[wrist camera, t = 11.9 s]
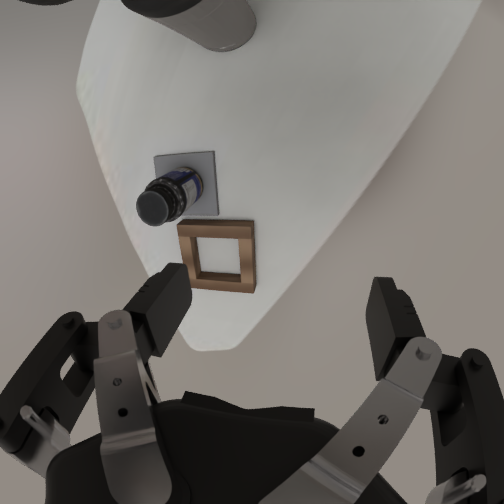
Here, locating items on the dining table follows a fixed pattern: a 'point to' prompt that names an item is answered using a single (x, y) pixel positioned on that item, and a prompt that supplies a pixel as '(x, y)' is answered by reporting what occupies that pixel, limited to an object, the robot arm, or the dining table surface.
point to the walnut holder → (219, 229)
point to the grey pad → (205, 169)
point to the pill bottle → (169, 196)
